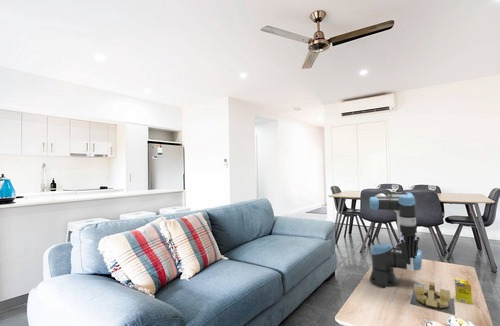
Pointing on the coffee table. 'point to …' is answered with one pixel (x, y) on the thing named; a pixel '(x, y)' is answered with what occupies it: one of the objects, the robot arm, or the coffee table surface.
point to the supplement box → (463, 291)
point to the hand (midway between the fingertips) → (410, 270)
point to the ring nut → (432, 295)
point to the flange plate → (449, 309)
